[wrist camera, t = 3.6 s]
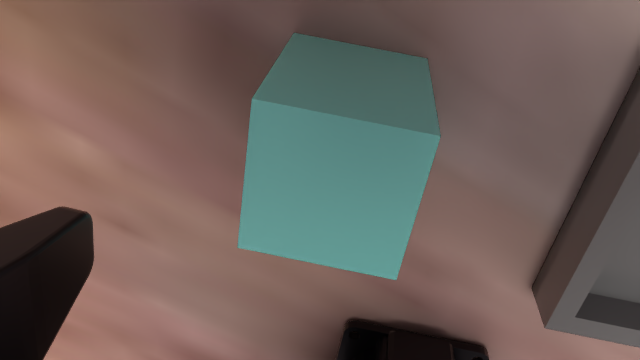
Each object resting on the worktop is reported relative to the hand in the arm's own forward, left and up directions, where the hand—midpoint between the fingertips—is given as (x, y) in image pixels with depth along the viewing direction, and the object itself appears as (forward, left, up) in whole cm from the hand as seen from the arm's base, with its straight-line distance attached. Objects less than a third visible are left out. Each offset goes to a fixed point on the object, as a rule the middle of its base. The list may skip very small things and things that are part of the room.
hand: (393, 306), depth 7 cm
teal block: (-2, +1, -12) cm, 12 cm away
